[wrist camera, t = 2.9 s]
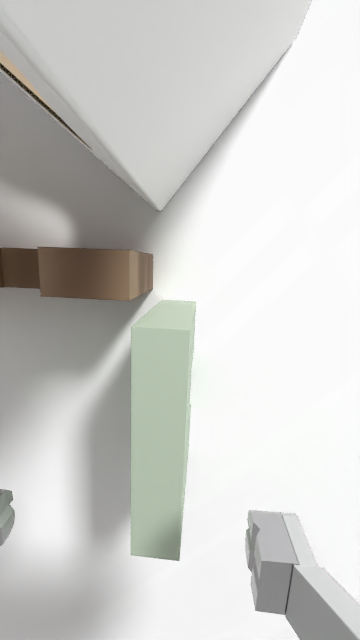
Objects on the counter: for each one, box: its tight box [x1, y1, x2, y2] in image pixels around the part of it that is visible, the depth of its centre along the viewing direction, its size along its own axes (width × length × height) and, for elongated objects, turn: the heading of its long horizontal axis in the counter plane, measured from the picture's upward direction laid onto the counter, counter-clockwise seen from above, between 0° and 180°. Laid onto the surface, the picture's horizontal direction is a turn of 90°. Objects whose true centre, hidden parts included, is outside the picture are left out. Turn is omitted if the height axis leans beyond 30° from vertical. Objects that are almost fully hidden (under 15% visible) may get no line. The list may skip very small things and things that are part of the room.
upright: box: [0, 247, 153, 301], centre depth 17 cm, size 14×2×6 cm, turn 87°
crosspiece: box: [131, 300, 196, 561], centre depth 17 cm, size 12×2×9 cm, turn 178°
